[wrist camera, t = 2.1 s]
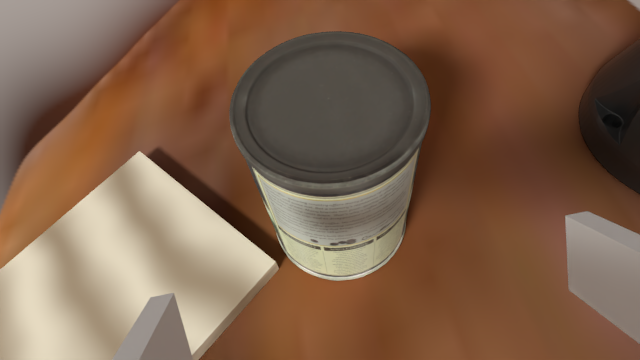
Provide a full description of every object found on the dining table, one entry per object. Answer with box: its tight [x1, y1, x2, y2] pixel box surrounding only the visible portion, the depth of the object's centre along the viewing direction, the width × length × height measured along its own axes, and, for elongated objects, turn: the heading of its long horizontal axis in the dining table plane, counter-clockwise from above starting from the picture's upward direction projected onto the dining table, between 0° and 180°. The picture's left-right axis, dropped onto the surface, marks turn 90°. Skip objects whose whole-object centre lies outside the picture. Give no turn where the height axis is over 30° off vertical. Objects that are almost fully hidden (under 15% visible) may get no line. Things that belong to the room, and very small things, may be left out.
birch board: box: [0, 151, 279, 360], centre depth 32 cm, size 20×16×2 cm
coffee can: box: [230, 31, 431, 281], centre depth 29 cm, size 10×10×14 cm
